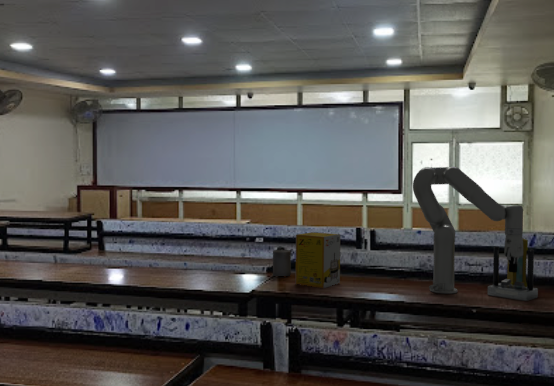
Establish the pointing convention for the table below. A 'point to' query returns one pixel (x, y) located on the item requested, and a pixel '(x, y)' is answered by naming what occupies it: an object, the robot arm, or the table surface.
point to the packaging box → (318, 259)
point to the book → (519, 267)
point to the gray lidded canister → (281, 263)
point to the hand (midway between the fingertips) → (512, 271)
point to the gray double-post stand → (510, 289)
